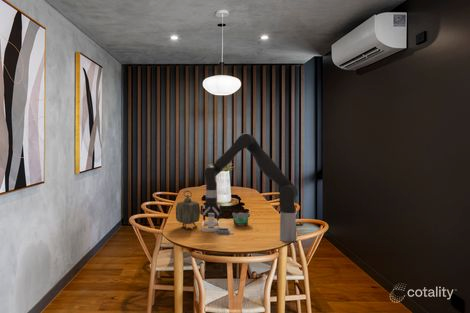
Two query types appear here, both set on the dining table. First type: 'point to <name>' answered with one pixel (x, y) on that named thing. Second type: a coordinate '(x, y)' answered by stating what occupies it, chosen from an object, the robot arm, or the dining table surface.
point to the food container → (240, 219)
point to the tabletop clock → (187, 211)
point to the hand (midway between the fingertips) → (211, 220)
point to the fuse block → (223, 231)
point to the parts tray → (210, 228)
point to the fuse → (210, 220)
